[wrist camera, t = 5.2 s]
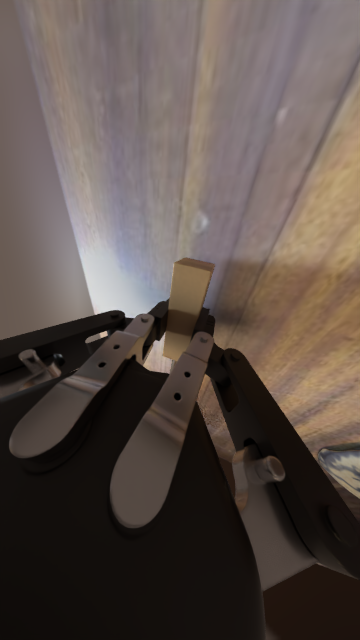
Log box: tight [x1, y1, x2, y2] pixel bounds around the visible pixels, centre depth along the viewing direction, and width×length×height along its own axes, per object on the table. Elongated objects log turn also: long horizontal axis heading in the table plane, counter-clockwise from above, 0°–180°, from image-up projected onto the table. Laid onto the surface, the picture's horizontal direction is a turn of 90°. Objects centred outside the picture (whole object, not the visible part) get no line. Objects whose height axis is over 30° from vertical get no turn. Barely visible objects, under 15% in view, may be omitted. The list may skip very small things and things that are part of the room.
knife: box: [163, 258, 215, 373], centre depth 17 cm, size 29×2×3 cm, turn 170°
